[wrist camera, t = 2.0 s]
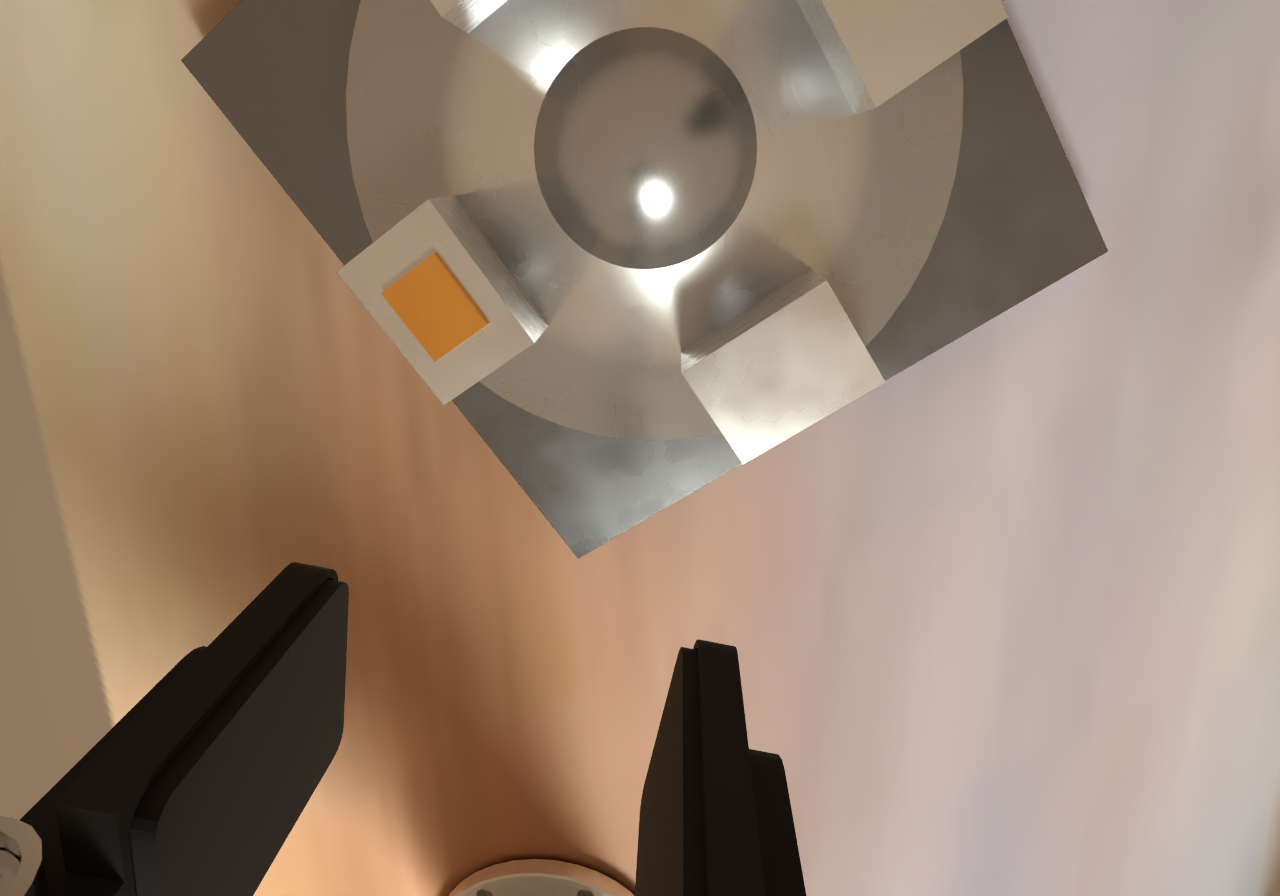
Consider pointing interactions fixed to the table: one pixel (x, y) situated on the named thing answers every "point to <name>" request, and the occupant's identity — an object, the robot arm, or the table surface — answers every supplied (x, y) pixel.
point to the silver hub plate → (653, 199)
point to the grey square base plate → (671, 469)
